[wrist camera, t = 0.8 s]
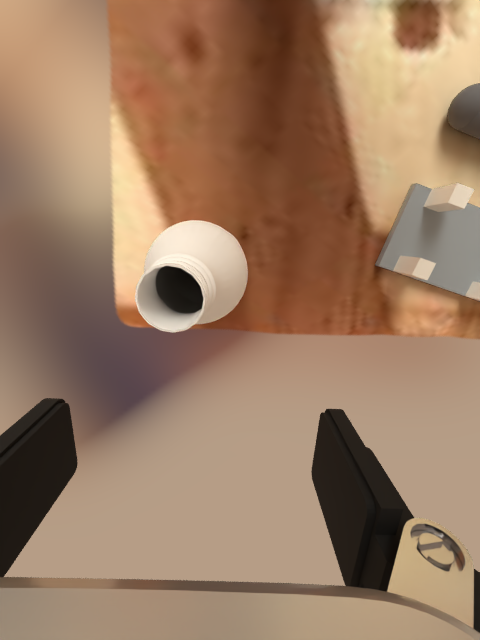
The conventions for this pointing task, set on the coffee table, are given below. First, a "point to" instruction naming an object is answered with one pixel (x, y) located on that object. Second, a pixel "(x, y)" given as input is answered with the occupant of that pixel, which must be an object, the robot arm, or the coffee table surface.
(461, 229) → the board
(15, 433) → the robot arm
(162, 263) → the water bottle
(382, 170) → the coffee table surface
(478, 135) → the grey rounded bar
